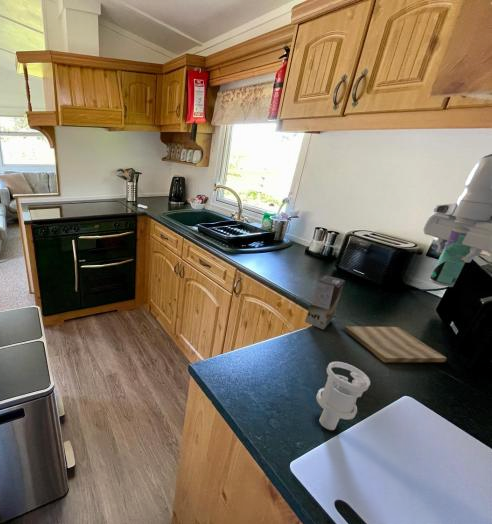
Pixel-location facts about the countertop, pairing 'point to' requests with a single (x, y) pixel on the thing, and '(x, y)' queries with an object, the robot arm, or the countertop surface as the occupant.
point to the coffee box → (324, 301)
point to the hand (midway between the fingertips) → (452, 257)
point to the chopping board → (394, 344)
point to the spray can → (451, 259)
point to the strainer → (340, 395)
